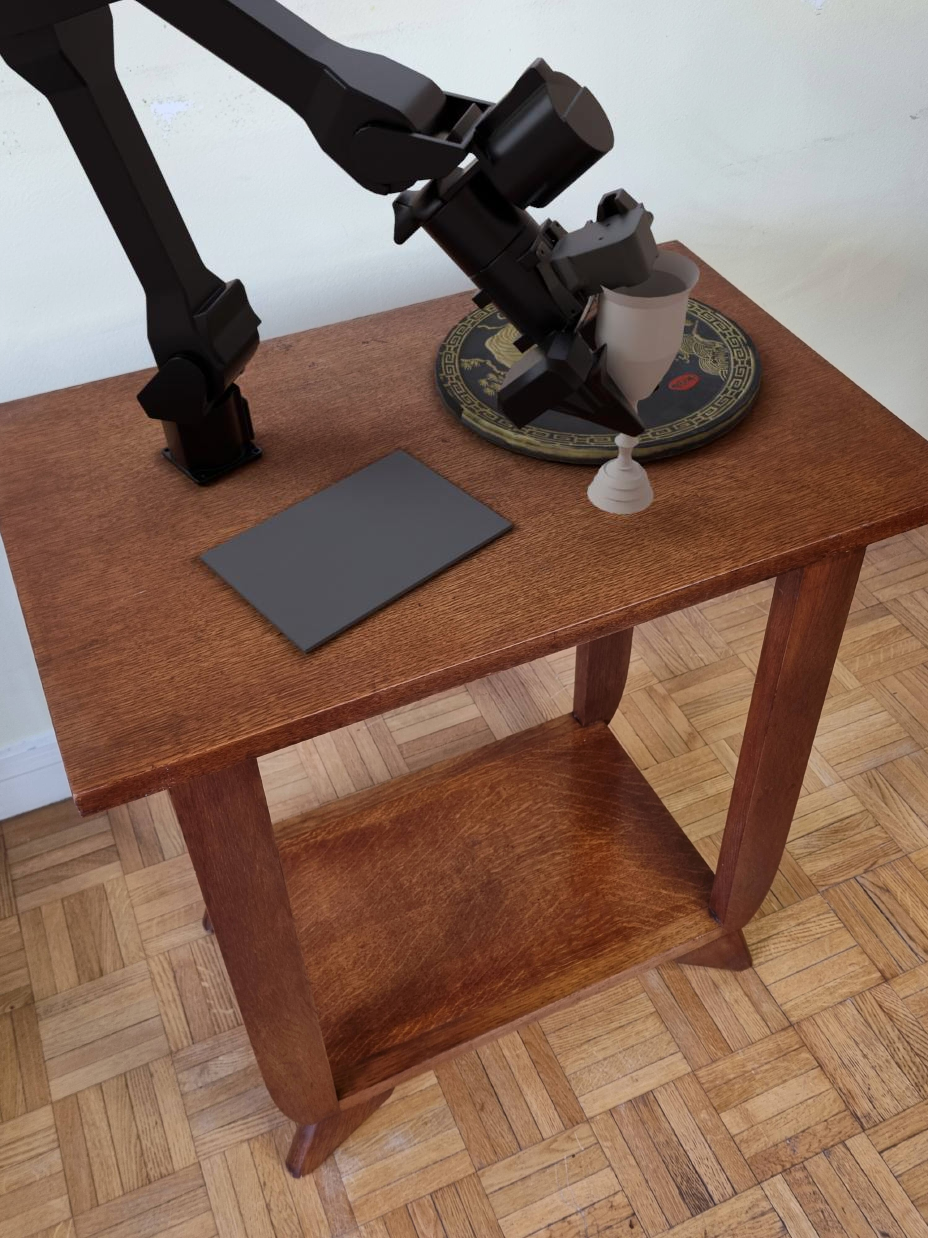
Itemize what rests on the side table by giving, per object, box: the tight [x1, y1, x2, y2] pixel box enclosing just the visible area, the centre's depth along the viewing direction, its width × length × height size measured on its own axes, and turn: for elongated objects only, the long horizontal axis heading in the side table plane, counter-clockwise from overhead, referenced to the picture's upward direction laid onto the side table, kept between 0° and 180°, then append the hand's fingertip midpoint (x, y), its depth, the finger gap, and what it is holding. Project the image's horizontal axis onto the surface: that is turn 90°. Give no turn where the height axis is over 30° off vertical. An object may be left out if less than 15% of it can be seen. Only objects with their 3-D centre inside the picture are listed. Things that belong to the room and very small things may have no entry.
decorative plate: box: [434, 297, 763, 466], centre depth 101 cm, size 30×2×30 cm
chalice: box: [586, 248, 701, 515], centre depth 77 cm, size 7×7×18 cm
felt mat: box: [199, 448, 513, 654], centre depth 85 cm, size 20×14×1 cm
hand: (647, 411), depth 78 cm, fingers closed on chalice, 5 cm apart
